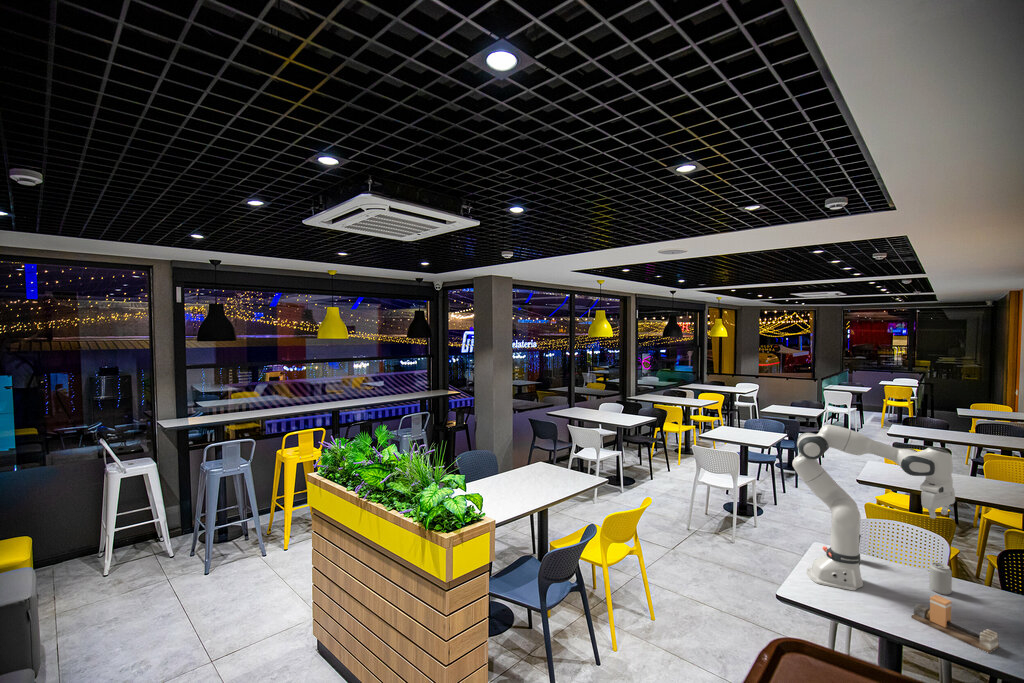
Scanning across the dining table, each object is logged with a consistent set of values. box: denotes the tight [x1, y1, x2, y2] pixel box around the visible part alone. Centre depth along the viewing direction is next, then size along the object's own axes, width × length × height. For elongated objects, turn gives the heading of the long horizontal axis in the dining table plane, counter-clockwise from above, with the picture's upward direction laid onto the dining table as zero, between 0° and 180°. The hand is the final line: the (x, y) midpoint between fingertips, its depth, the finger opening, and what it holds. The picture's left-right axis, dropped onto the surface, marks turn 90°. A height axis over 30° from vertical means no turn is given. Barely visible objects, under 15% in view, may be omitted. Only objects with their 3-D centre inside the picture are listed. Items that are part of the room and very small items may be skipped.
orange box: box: [929, 594, 952, 628], centre depth 189 cm, size 5×4×10 cm
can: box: [928, 562, 953, 596], centre depth 215 cm, size 8×8×12 cm
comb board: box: [910, 603, 1000, 654], centre depth 186 cm, size 24×8×6 cm, turn 25°
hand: (938, 516), depth 207 cm, fingers open, 8 cm apart
